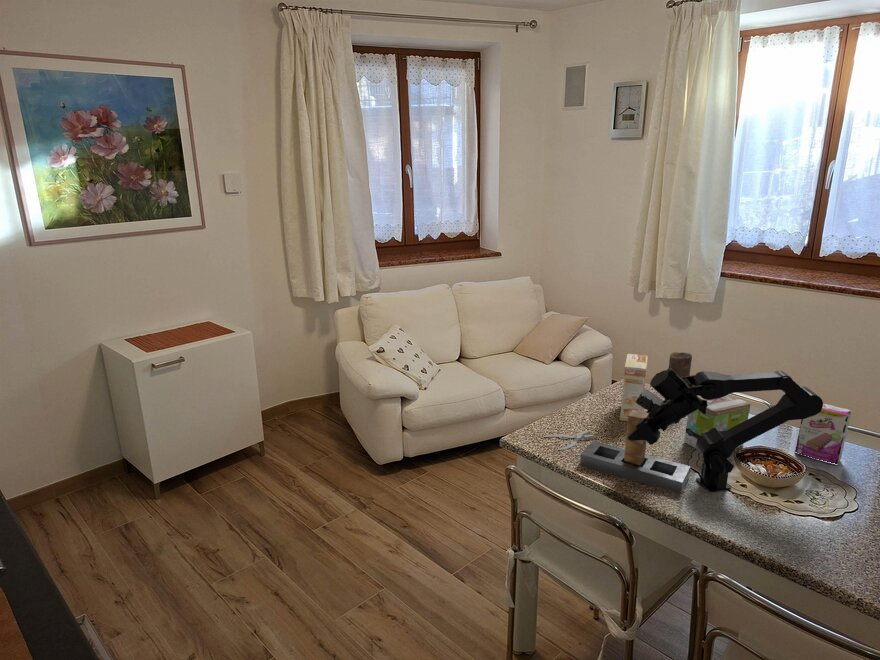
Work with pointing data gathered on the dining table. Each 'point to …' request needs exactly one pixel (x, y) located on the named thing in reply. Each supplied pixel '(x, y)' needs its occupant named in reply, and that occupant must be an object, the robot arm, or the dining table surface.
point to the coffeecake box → (633, 383)
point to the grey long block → (636, 467)
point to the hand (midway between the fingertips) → (631, 435)
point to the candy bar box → (824, 434)
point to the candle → (680, 363)
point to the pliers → (578, 437)
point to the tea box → (716, 417)
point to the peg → (636, 447)
